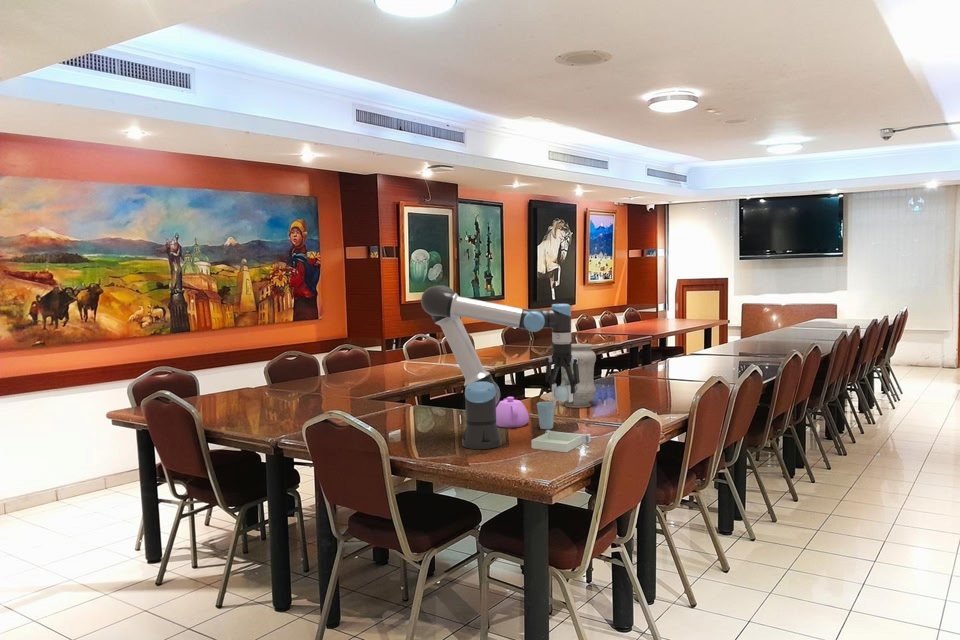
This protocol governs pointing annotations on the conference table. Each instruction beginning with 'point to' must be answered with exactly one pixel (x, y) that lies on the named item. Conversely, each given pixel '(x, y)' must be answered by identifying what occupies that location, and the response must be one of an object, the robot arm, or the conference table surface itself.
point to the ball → (561, 393)
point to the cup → (546, 414)
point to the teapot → (511, 413)
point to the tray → (556, 442)
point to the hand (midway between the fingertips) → (562, 400)
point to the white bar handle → (584, 437)
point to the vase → (581, 376)
